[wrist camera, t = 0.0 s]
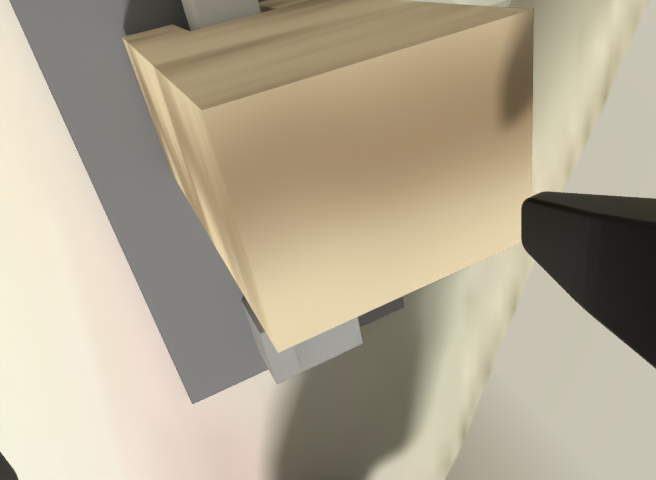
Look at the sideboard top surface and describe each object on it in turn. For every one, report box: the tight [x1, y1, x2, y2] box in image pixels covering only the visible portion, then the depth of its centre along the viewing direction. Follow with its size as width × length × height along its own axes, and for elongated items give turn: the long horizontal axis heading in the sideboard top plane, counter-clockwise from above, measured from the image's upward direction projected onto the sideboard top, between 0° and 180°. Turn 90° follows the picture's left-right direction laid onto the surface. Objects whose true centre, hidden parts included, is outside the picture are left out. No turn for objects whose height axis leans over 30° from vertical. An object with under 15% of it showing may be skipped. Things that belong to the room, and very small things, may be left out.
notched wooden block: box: [122, 0, 534, 353], centre depth 15 cm, size 5×6×12 cm
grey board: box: [10, 0, 404, 404], centre depth 19 cm, size 30×12×4 cm, turn 12°
